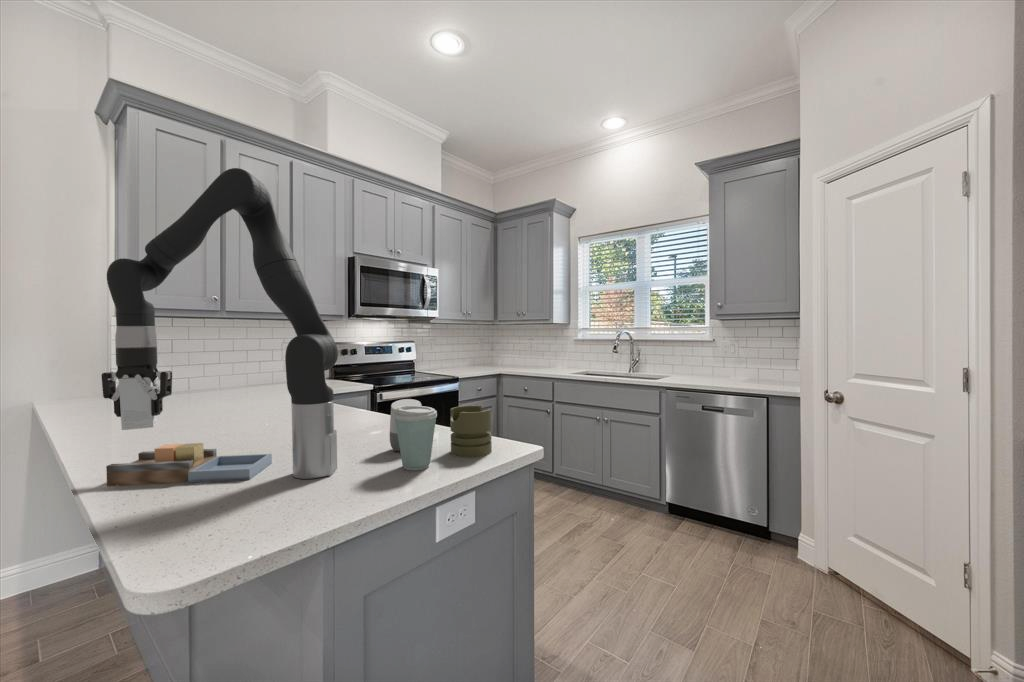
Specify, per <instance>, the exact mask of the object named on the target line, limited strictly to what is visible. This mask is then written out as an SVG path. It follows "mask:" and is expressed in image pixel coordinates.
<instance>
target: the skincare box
mask: <svg viewBox="0 0 1024 682" xmlns="http://www.w3.org/2000/svg"><path fill="white" fill-rule="evenodd" d="M143 378H144V379H145V381H146V382H147V383H148V384H149V386H151V387H153V383H152V381H151V379H150V378H148V377H143ZM143 384H144V383H143ZM118 385H119V394H120V410H121V417H120V422H121V424H120V425H121V430H122V431H128V430H138V429H140V430H141V429H148V428H149V429H150V428H155V427H156V426H157V425H158V417H157V416H158V415H156V416H152V414H151V400H153V399H152V398H151V397H150V395H149V394H148V393H147V392H145V390H144V389H143V388H142V386H141V385H140V382H138V381H137V380H136V378H135V377H131V378H120V379H118Z"/></svg>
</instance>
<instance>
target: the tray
mask: <svg viewBox="0 0 1024 682" xmlns="http://www.w3.org/2000/svg"><path fill="white" fill-rule="evenodd" d="M272 464H273V455H272V453H260V454H258V453H256V454H255V453H254V454H253V453H252V454H238V455H236V454H234V455H233V454H231V455H217V457H215V458H213V459H211V460H209V461H207V462H206V463H204V464H202V465H200V466H198V467H196V468H194V469H192V470H191V471H189V472H188V482H187V483H189V484H190V483H191V484H193V483H209V482H211V483H212V482H231V481H233V482H234V481H248V480H249V481H251V480H252V478H254V477H256V476H257V475H258V474H259V473H261V472H262V471H263V470H265V469H267V467H269V466H270V465H272Z"/></svg>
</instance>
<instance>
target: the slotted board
mask: <svg viewBox="0 0 1024 682" xmlns="http://www.w3.org/2000/svg"><path fill="white" fill-rule="evenodd" d="M203 452H204V459H203V460H201V461H199V462H197V463H196V464H193V460H191V461H169V462H155V450H154V451H141V452H139V453H138V455H137V456H138V459H137V460H134V461H132V462H128V463H127V462H126V463H125V462H124V463H123V462H122V463H111V464H108V465H106V466H105V467H106V468H105V469H106V487H114V486H115V487H117V486H116V485H121V486H134V485H135V486H136V485H137V486H138V485H156V484H157V485H159V484H160V485H161V484H177V483H178V484H179V483H181V484H182V483H188V472H189V471H191V470H192V469H194V468H196V467H198V466H200V465H202V464H204V463H206V462H207V461H209V460H211V459H213V458H215V457H217V456H218V455H217V448H205V449H204V448H203Z"/></svg>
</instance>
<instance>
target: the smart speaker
mask: <svg viewBox="0 0 1024 682" xmlns="http://www.w3.org/2000/svg"><path fill="white" fill-rule="evenodd" d="M399 406H423V405H422V403H421V401H419V400H417V399H412V398H405V399H399V400H395V401H394V402H392V403H391V405H390V419H389V420H390V421H389V443H390V447H391V449H392V450H393V451H395V452H397V453H400V447H399V441H398V434H397V428H396V422H395V418H394V414H395V412H396V408H397V407H399Z"/></svg>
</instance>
